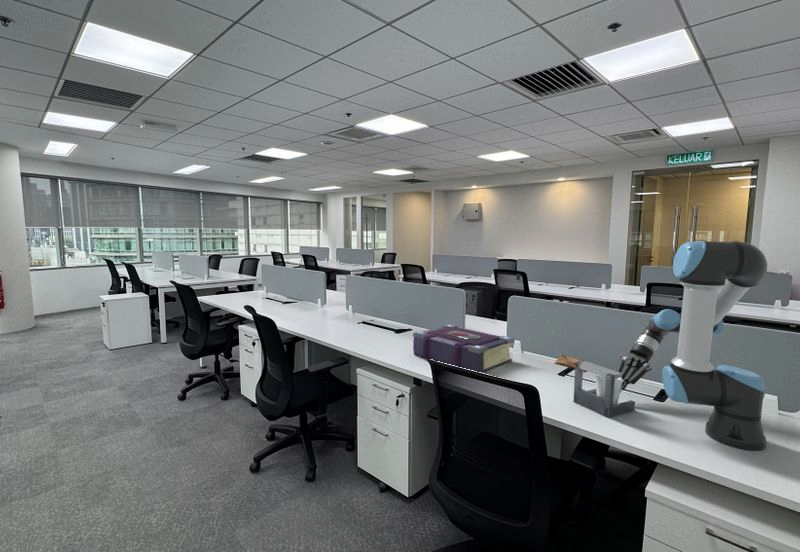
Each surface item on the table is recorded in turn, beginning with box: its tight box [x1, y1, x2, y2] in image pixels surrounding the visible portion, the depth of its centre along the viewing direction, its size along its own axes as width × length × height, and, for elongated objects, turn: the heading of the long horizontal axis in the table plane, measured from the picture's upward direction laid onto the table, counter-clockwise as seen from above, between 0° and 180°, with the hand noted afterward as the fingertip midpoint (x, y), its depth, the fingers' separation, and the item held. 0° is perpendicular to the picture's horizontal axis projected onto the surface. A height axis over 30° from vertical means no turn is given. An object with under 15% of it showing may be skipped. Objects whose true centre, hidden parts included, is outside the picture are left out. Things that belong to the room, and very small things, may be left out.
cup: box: [595, 374, 622, 405], centre depth 151 cm, size 9×9×12 cm
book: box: [412, 324, 515, 374], centre depth 211 cm, size 33×45×14 cm
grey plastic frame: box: [572, 361, 636, 419], centre depth 150 cm, size 15×16×16 cm
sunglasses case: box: [553, 354, 588, 373], centre depth 199 cm, size 18×7×7 cm
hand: (614, 394), depth 154 cm, fingers closed
